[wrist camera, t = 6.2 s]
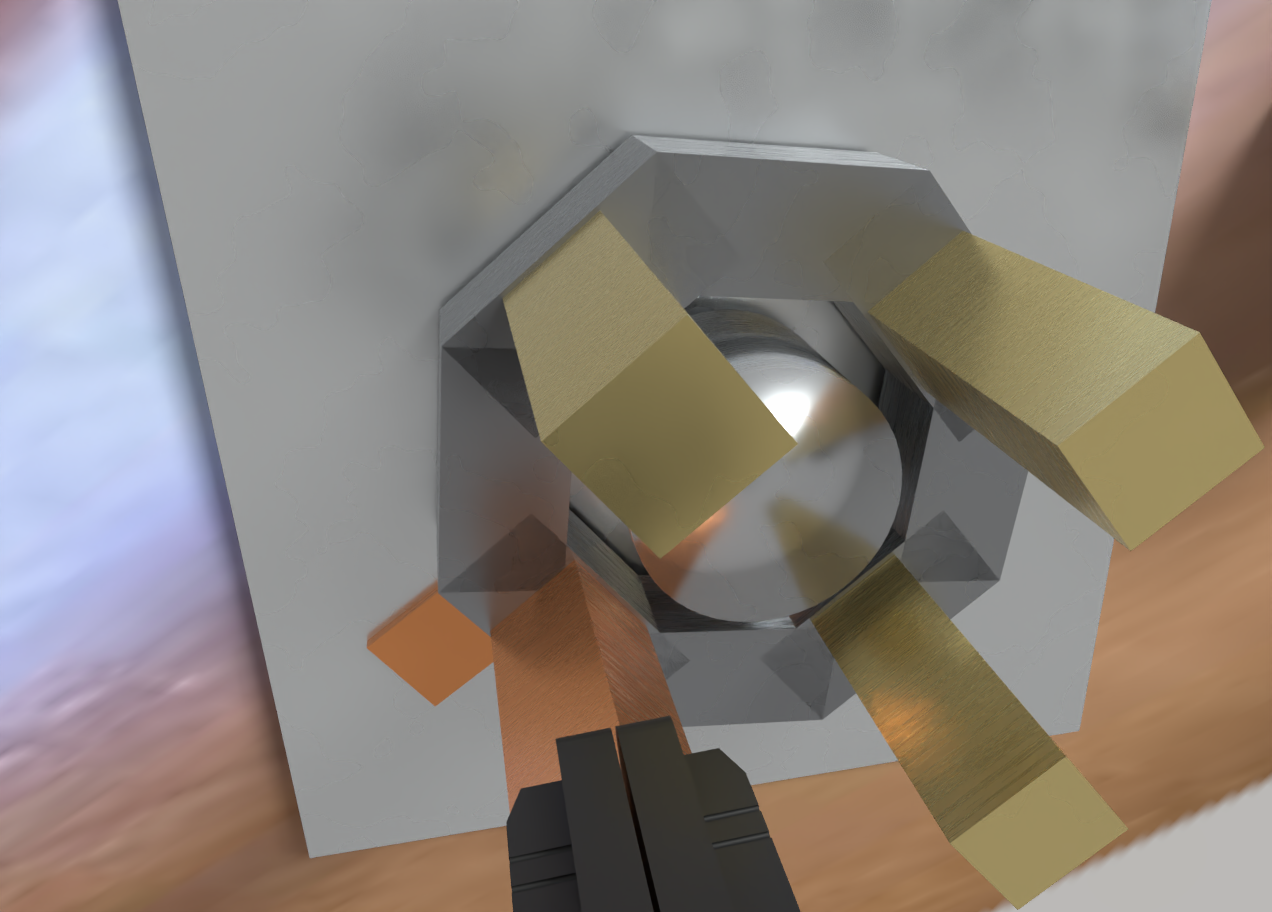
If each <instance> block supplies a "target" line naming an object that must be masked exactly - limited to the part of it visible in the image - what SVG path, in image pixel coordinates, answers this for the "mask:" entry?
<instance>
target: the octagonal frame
mask: <svg viewBox="0 0 1272 912" xmlns="http://www.w3.org/2000/svg"><path fill="white" fill-rule="evenodd" d="M698 296H714V297H739V298H765V299H791V300H817V301H833V302H834V303H835V304H836V306H837V307H838V308H839V310H840V311H841V312H842V314H843V315H844V316H845V318H846V319H847V320H848V321H849V323H850V324H851V325H852V327H853V328H854V329H855V331H856V332H857V333H858V334H859V336H860V337H861V338H862V340H863V341H864V342H865V344H866V345H867V346H868V348H869V349H870V350H871V351H872V353H873V354H874V355H875V357H876V358H877V359H878V361H879V362H880V363H881V364H882V366H883V367H884V368H885V375H884V380H883V385H882V391H881V396H880V401H879V406H878V409H879V410H880V411H881V413H882V414H883V416H884V417H885V419H886V420H887V422H888V423H889V425H890V427H891V429H892V432H893V434H894V436H895V438H896V442H897V445H898V449H899V452H900V458H901V466H902V488H901V494H900V501H899V505H898V509H897V512H896V516H895V519H894V521H893V524H892V526H891V528H890V531H889V533H888V535H887V537H886V538H885V540H884V542H883V544H882V545H881V547H880V549H879V550H878V552H877V553H876V554H875V556H874V557H873V558H872V560H871V561H870V562H869V564H868V565H867V566H866V567H865V568H864V569H863V570H862V571H861V572H860V573H859V575H858V576H856V577H855V578H854V579H853V580H852V581H851V582H850V583H848V584H847V585H846V586H845V587H844V588H842V589H841V590H840V591H838V592H837V593H835V594H834V595H833V596H831V597H829V598H828V599H826V600H824V601H822V602H821V603H819V604H817V605H815V606H813V607H811V608H808V609H806V610H804V611H801V612H799V613H796V614H792V615H789V616H786V617H783V618H778V619H773V620H767V621H757V622H733V621H727V620H720V619H715V618H712V617H709V616H705V615H702V614H699V613H697V612H695V611H693V610H690V609H688V608H686V607H684V606H683V605H681V604H680V603H678V602H676V601H675V600H673V599H672V598H671V597H670V596H669V595H667V594H666V593H665V592H664V591H663V590H661V588H660V587H659V586H658V585H657V584H656V583H655V582H654V580H653V579H652V578H651V577H650V575H642V576H639V575H638V574H637V573H636V572H634V571H633V570H632V569H631V568H630V567H629V566H628V565H627V564H626V563H625V562H624V561H623V560H622V559H621V558H620V557H619V556H618V555H617V554H616V553H615V552H614V551H613V550H611V549H610V548H609V547H608V546H607V545H606V544H605V543H604V542H603V541H602V540H601V539H600V538H599V537H598V536H597V535H596V534H595V533H594V532H593V531H592V530H591V529H590V528H588V527H587V526H586V525H585V524H584V523H583V522H582V521H581V520H580V519H579V518H578V517H577V516H576V515H575V514H574V513H573V512H572V511H571V510H570V509H569V502H570V488H571V473H573V474H574V475H575V476H576V477H577V478H578V479H579V480H580V481H581V482H582V483H583V484H584V485H585V486H586V487H588V488H589V489H590V490H591V491H592V492H593V493H594V494H595V495H596V496H597V497H598V498H599V499H600V500H601V501H602V502H603V503H604V504H605V505H606V506H607V507H608V508H609V509H610V510H611V511H612V512H613V513H614V514H615V515H616V516H617V517H618V518H619V519H620V520H621V521H622V522H623V523H624V524H625V525H626V526H627V527H628V528H629V529H630V530H631V531H632V532H633V533H634V534H635V535H636V536H637V537H638V538H639V539H640V540H641V541H643V542H644V543H645V544H646V545H647V546H648V547H649V548H650V549H651V550H652V551H653V552H654V553H655V554H656V555H657V556H658V557H659V558H660V559H661V558H662V557H663V556H664V555H666V554H667V553H668V552H669V551H670V550H672V549H673V548H674V547H675V546H676V545H678V544H679V543H680V542H681V541H682V540H684V539H685V538H686V537H687V536H688V535H690V534H691V533H692V532H693V531H694V530H696V529H697V528H698V527H699V526H700V525H702V524H703V523H704V522H705V521H706V520H708V519H709V518H710V517H711V516H712V515H714V514H715V513H716V512H717V511H718V510H720V509H721V508H722V507H723V506H724V505H726V504H727V503H728V502H729V501H730V500H732V499H733V498H734V497H735V496H736V495H738V494H739V493H740V492H741V491H742V490H744V489H745V488H746V487H747V486H748V485H750V484H751V483H752V482H753V481H754V480H756V479H757V478H758V477H759V476H760V475H762V474H763V473H764V472H765V471H766V470H768V469H769V468H770V467H771V466H772V465H774V464H775V463H776V462H777V461H778V460H780V459H781V458H782V457H783V456H784V455H786V454H787V453H788V452H789V451H790V450H792V449H793V448H794V447H795V446H796V445H798V443H797V442H796V441H795V440H794V438H793V437H792V436H791V435H790V434H789V432H788V431H787V430H786V429H785V428H784V427H783V425H782V424H781V423H780V422H779V421H778V419H777V418H776V417H775V416H774V415H773V413H772V412H771V411H770V410H769V409H768V408H767V406H766V405H765V404H764V403H763V402H762V400H761V399H760V398H759V397H758V396H757V395H756V393H755V392H754V391H753V390H752V389H751V387H750V386H749V385H748V384H747V383H746V381H745V380H744V379H743V378H742V377H741V376H740V374H739V373H738V372H737V371H736V370H735V368H734V367H733V366H732V365H731V364H730V363H729V361H728V360H727V359H726V358H725V357H724V355H723V354H722V353H721V352H720V351H719V350H718V348H717V347H716V346H715V345H714V344H713V342H712V341H711V340H710V339H709V338H708V336H707V335H706V334H705V333H704V332H703V331H702V329H701V328H700V327H699V326H698V325H697V323H696V322H695V321H694V320H693V319H692V318H691V316H690V315H689V314H688V313H687V312H686V310H685V309H684V308H686V307H687V306H688V305H689V304H690V303H691V302H692V301H694V300H695V299H696V298H697V297H698ZM1264 448H1265V447H1264V445H1263V443H1262V442H1261V440H1260V438H1259V436H1258V435H1257V433H1256V431H1255V429H1254V428H1253V426H1252V424H1251V422H1250V420H1249V419H1248V417H1247V415H1246V413H1245V412H1244V410H1243V408H1242V406H1241V405H1240V403H1239V401H1238V399H1237V397H1236V396H1235V394H1234V392H1233V390H1232V389H1231V387H1230V385H1229V383H1228V382H1227V380H1226V378H1225V376H1224V374H1223V373H1222V371H1221V369H1220V367H1219V366H1218V364H1217V362H1216V360H1215V358H1214V357H1213V355H1212V353H1211V351H1210V350H1209V348H1208V346H1207V344H1206V343H1205V341H1204V339H1203V337H1202V335H1201V334H1200V332H1198V331H1195V330H1193V329H1191V328H1188V327H1186V326H1184V325H1181V324H1179V323H1177V322H1174V321H1172V320H1170V319H1168V318H1165V317H1163V316H1161V315H1158V314H1156V313H1154V312H1151V311H1149V310H1147V309H1144V308H1142V307H1140V306H1137V305H1135V304H1133V303H1130V302H1128V301H1126V300H1123V299H1121V298H1119V297H1116V296H1114V295H1112V294H1109V293H1107V292H1105V291H1102V290H1100V289H1098V288H1095V287H1093V286H1091V285H1088V284H1086V283H1084V282H1081V281H1079V280H1077V279H1074V278H1072V277H1070V276H1067V275H1065V274H1063V273H1061V272H1058V271H1056V270H1054V269H1051V268H1049V267H1047V266H1044V265H1042V264H1040V263H1037V262H1035V261H1033V260H1030V259H1028V258H1026V257H1023V256H1021V255H1019V254H1016V253H1014V252H1012V251H1009V250H1007V249H1005V248H1002V247H1000V246H998V245H995V244H993V243H991V242H988V241H986V240H984V239H981V238H979V237H977V236H974V235H972V234H971V232H970V231H969V229H968V228H967V226H966V225H965V223H964V222H963V220H962V219H961V217H960V216H959V214H958V212H957V211H956V209H955V208H954V206H953V205H952V203H951V202H950V200H949V199H948V197H947V196H946V194H945V193H944V191H943V190H942V188H941V187H940V185H939V184H938V182H937V181H936V179H935V178H934V176H933V175H932V173H931V172H930V170H927V169H924V168H921V167H919V166H916V165H913V164H910V163H907V162H904V161H901V160H898V159H895V158H892V157H889V156H886V155H883V154H880V153H876V152H862V151H848V150H834V149H820V148H806V147H792V146H778V145H764V144H750V143H736V142H722V141H708V140H694V139H680V138H666V137H652V136H638V135H631V136H630V137H629V138H627V139H626V140H625V141H624V142H623V143H622V144H621V145H620V146H619V147H618V148H616V149H615V150H614V151H613V152H612V153H611V154H610V155H609V156H608V157H607V158H605V159H604V160H603V161H602V162H601V163H600V164H599V165H598V166H597V167H596V168H594V169H593V170H592V171H591V172H590V173H589V174H588V175H587V176H586V177H585V178H583V179H582V180H581V181H580V182H579V183H578V184H577V185H576V186H575V187H574V188H573V189H571V190H570V191H569V192H568V193H567V194H566V195H565V196H564V197H563V198H562V199H560V200H559V201H558V202H557V203H556V204H555V205H554V206H553V207H552V208H551V209H549V210H548V211H547V212H546V213H545V214H544V215H543V216H542V217H541V218H540V219H538V220H537V221H536V222H535V223H534V224H533V225H532V226H531V227H530V228H529V229H527V230H526V231H525V232H524V233H523V234H522V235H521V236H520V237H519V238H518V239H516V240H515V241H514V242H513V243H512V244H511V245H510V246H509V247H508V248H507V249H505V250H504V251H503V252H502V253H501V254H500V255H499V256H498V257H497V258H496V259H494V260H493V261H492V262H491V263H490V264H489V265H488V266H487V267H486V268H485V269H483V270H482V271H481V272H480V273H479V274H478V275H477V276H476V277H475V278H474V279H472V280H471V281H470V282H469V283H468V284H467V285H466V286H465V287H464V288H463V289H461V290H460V291H459V292H458V293H457V294H456V295H455V296H454V297H453V298H452V299H451V300H449V301H448V302H447V303H446V304H445V305H444V306H443V307H442V308H441V309H440V310H439V386H438V466H437V536H436V537H437V573H438V594H440V595H441V596H442V597H443V598H444V599H446V600H447V601H448V602H449V603H450V604H452V605H453V606H454V607H455V608H456V609H458V610H459V611H460V612H461V613H462V614H464V615H465V616H466V617H467V618H468V619H470V620H471V621H472V622H473V623H474V624H476V625H477V626H478V627H479V628H480V629H482V630H483V631H484V632H485V633H486V634H488V635H489V636H490V637H491V643H492V653H493V662H494V671H495V680H496V690H497V699H498V708H499V717H500V727H501V736H502V745H503V754H504V764H505V773H506V782H507V791H508V801H509V810H510V813H511V810H512V808H513V805H514V803H515V801H516V798H517V796H518V794H519V791H520V789H521V788H526V787H531V786H536V785H540V784H545V783H550V782H555V781H560V780H562V779H561V772H560V765H559V759H558V752H557V746H556V738H561V737H566V736H571V735H576V734H581V733H586V732H591V731H596V730H601V729H606V728H611V730H612V734H613V738H614V742H615V747H616V751H617V755H618V760H619V754H618V747H617V740H616V732H615V726H620V725H625V724H630V723H635V722H640V721H645V720H650V719H655V718H660V717H665V716H671V718H672V720H673V723H674V726H675V729H676V732H677V736H678V739H679V742H680V745H681V748H682V751H683V754H684V755H686V754H691V753H692V752H691V749H690V747H689V744H688V741H687V738H686V735H685V733H684V730H683V727H693V726H712V725H732V724H751V723H771V722H790V721H809V720H823V719H824V718H825V717H827V716H828V715H829V714H831V713H832V712H833V711H834V710H836V709H837V708H838V707H839V706H841V705H842V704H843V703H845V702H846V701H847V700H848V699H850V698H851V697H852V696H854V695H855V694H857V695H858V697H859V698H860V700H861V702H862V703H863V705H864V706H865V708H866V710H867V711H868V713H869V714H870V716H871V718H872V719H873V721H874V722H875V724H876V726H877V727H878V729H879V730H880V732H881V734H882V735H883V737H884V738H885V740H886V742H887V743H888V745H889V746H890V748H891V750H892V751H893V753H894V754H895V756H896V758H897V759H898V761H899V763H900V764H901V766H902V767H903V769H904V771H905V772H906V774H907V775H908V777H909V779H910V780H911V782H912V783H913V785H914V787H915V788H916V790H917V791H918V793H919V795H920V796H921V798H922V799H923V801H924V803H925V804H926V806H927V807H928V809H929V811H930V812H931V814H932V815H933V817H934V819H935V820H936V822H937V823H938V825H939V827H940V828H941V830H942V831H943V833H944V835H945V836H946V838H947V839H948V841H949V843H950V844H951V845H952V846H953V847H954V848H955V849H956V850H957V851H958V852H959V853H960V854H961V855H962V856H963V857H964V858H965V859H966V860H967V861H968V862H970V863H971V864H972V865H973V866H974V867H975V868H976V869H977V870H978V871H979V872H980V873H981V874H982V875H983V876H984V877H985V878H986V879H987V880H988V881H989V882H990V883H991V884H992V885H993V886H994V887H995V888H996V889H997V890H998V891H999V892H1000V893H1001V894H1002V895H1003V896H1004V897H1005V898H1006V899H1007V900H1008V901H1009V902H1010V903H1011V904H1012V905H1013V906H1014V907H1015V908H1016V909H1017V910H1018V909H1020V908H1021V907H1022V906H1024V905H1025V904H1027V903H1028V902H1029V901H1031V900H1032V899H1033V898H1035V897H1036V896H1038V895H1039V894H1040V893H1042V892H1043V891H1044V890H1046V889H1047V888H1049V887H1050V886H1051V885H1053V884H1054V883H1055V882H1057V881H1058V880H1059V879H1061V878H1062V877H1064V876H1065V875H1066V874H1068V873H1069V872H1070V871H1072V870H1073V869H1075V868H1076V867H1077V866H1079V865H1080V864H1081V863H1083V862H1084V861H1085V860H1087V859H1088V858H1090V857H1091V856H1092V855H1094V854H1095V853H1096V852H1098V851H1099V850H1101V849H1102V848H1103V847H1105V846H1106V845H1107V844H1109V843H1110V842H1111V841H1113V840H1114V839H1116V838H1117V837H1118V836H1120V835H1121V834H1122V833H1124V832H1125V831H1127V830H1128V828H1127V827H1126V825H1125V824H1124V823H1123V822H1122V821H1121V820H1120V818H1119V817H1118V816H1117V815H1116V814H1115V813H1114V811H1113V810H1112V809H1111V808H1110V807H1109V806H1108V804H1107V803H1106V802H1105V801H1104V800H1103V798H1102V797H1101V796H1100V795H1099V794H1098V793H1097V791H1096V790H1095V789H1094V788H1093V787H1092V786H1091V784H1090V783H1089V782H1088V781H1087V780H1086V778H1085V777H1084V776H1083V775H1082V774H1081V773H1080V771H1079V770H1078V769H1077V768H1076V767H1075V766H1074V764H1073V763H1072V762H1071V761H1070V760H1069V758H1068V757H1067V756H1066V755H1065V754H1064V753H1063V751H1062V750H1061V749H1060V748H1059V747H1058V746H1057V744H1056V743H1055V742H1054V741H1053V740H1052V738H1051V737H1050V736H1049V735H1048V734H1047V733H1046V731H1045V730H1044V729H1043V728H1042V727H1041V726H1040V724H1039V723H1038V722H1037V721H1036V720H1035V718H1034V717H1033V716H1032V715H1031V714H1030V713H1029V711H1028V710H1027V709H1026V708H1025V707H1024V706H1023V704H1022V703H1021V702H1020V701H1019V700H1018V698H1017V697H1016V696H1015V695H1014V694H1013V693H1012V691H1011V690H1010V689H1009V688H1008V687H1007V686H1006V684H1005V683H1004V682H1003V681H1002V680H1001V678H1000V677H999V676H998V675H997V674H996V673H995V671H994V670H993V669H992V668H991V667H990V666H989V664H988V663H987V662H986V661H985V660H984V659H983V657H982V656H981V655H980V654H979V653H978V651H977V650H976V649H975V648H974V647H973V646H972V644H971V643H970V642H969V641H968V640H967V639H966V637H965V636H964V635H963V634H962V633H961V631H960V630H959V629H958V628H957V627H956V626H955V624H954V623H953V622H952V621H951V620H950V619H952V618H953V617H954V616H955V615H957V614H958V613H959V612H960V611H962V610H963V609H964V608H966V607H967V606H968V605H969V604H971V603H972V602H973V601H974V600H976V599H977V598H978V597H980V596H981V595H982V594H983V593H985V592H986V591H987V590H989V589H990V588H991V587H992V586H994V585H995V584H996V583H997V582H999V581H1000V578H1001V574H1002V570H1003V566H1004V563H1005V559H1006V555H1007V551H1008V547H1009V543H1010V540H1011V536H1012V532H1013V528H1014V524H1015V520H1016V517H1017V513H1018V509H1019V505H1020V501H1021V498H1022V494H1023V490H1024V486H1025V482H1026V478H1027V475H1028V471H1029V472H1030V473H1031V474H1032V475H1034V476H1035V477H1036V478H1038V479H1039V480H1040V481H1041V482H1043V483H1044V484H1045V485H1047V486H1048V487H1049V488H1050V489H1052V490H1053V491H1054V492H1056V493H1057V494H1058V495H1059V496H1061V497H1062V498H1063V499H1065V500H1066V501H1067V502H1068V503H1070V504H1071V505H1072V506H1073V507H1075V508H1076V509H1077V510H1079V511H1080V512H1081V513H1082V514H1084V515H1085V516H1086V517H1088V518H1089V519H1090V520H1091V521H1093V522H1094V523H1095V524H1097V525H1098V526H1099V527H1100V528H1102V529H1103V530H1104V531H1106V532H1107V533H1108V534H1109V535H1111V536H1112V537H1113V538H1114V539H1116V540H1117V541H1118V542H1120V543H1121V544H1122V545H1123V546H1125V547H1126V548H1127V549H1129V550H1130V551H1132V550H1133V549H1134V548H1136V547H1137V546H1138V545H1140V544H1141V543H1142V542H1143V541H1145V540H1146V539H1147V538H1149V537H1150V536H1151V535H1152V534H1154V533H1155V532H1156V531H1158V530H1159V529H1160V528H1161V527H1163V526H1164V525H1165V524H1167V523H1168V522H1169V521H1171V520H1172V519H1173V518H1174V517H1176V516H1177V515H1178V514H1180V513H1181V512H1182V511H1183V510H1185V509H1186V508H1187V507H1189V506H1190V505H1191V504H1193V503H1194V502H1195V501H1196V500H1198V499H1199V498H1200V497H1202V496H1203V495H1204V494H1205V493H1207V492H1208V491H1209V490H1211V489H1212V488H1213V487H1214V486H1216V485H1217V484H1218V483H1220V482H1221V481H1222V480H1224V479H1225V478H1226V477H1227V476H1229V475H1230V474H1231V473H1233V472H1234V471H1235V470H1236V469H1238V468H1239V467H1240V466H1242V465H1243V464H1244V463H1246V462H1247V461H1248V460H1249V459H1251V458H1252V457H1253V456H1255V455H1256V454H1257V453H1258V452H1260V451H1261V450H1262V449H1264ZM619 764H620V761H619Z"/></svg>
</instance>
